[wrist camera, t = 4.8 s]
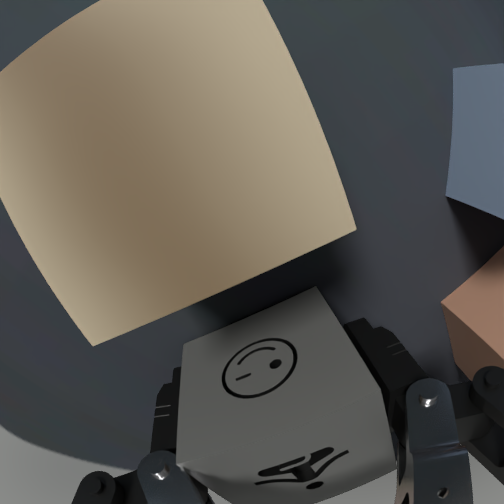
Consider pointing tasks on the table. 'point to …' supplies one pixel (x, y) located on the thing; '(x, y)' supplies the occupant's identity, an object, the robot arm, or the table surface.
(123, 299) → the beech cube
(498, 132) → the slate-blue cube
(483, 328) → the terracotta cube
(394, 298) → the table surface
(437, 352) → the table surface
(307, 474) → the dice cube
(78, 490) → the robot arm
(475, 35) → the table surface
